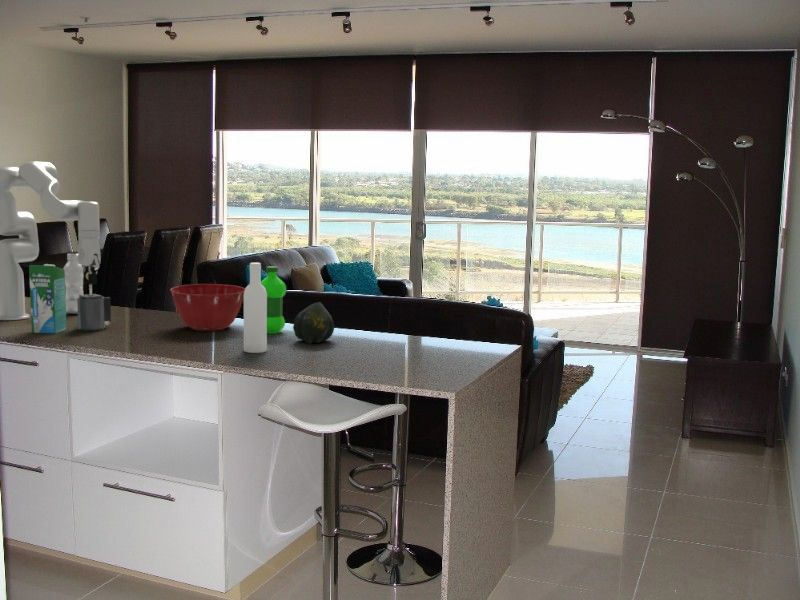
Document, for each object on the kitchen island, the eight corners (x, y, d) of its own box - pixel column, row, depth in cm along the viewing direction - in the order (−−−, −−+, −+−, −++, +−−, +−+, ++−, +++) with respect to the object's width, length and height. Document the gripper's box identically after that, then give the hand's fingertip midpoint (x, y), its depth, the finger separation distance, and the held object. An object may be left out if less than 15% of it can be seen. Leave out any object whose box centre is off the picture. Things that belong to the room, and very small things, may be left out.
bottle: (256, 354, 291) (256, 264, 287) (238, 351, 295) (238, 263, 291) (271, 350, 298) (272, 263, 294) (254, 347, 302) (254, 261, 298)
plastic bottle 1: (89, 314, 363) (87, 254, 360) (70, 316, 357) (68, 255, 353) (79, 311, 369) (78, 252, 365) (60, 313, 362) (58, 253, 359)
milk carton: (66, 329, 328) (64, 263, 324) (55, 333, 319) (52, 265, 315) (43, 328, 328) (41, 262, 325) (31, 332, 319) (28, 264, 316)
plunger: (80, 314, 329) (78, 271, 327) (95, 313, 333) (94, 270, 331) (87, 316, 325) (85, 272, 322) (102, 315, 329) (101, 271, 326)
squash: (286, 330, 306) (315, 298, 306) (285, 324, 320) (313, 294, 321) (316, 356, 308) (345, 325, 309) (314, 350, 323) (341, 320, 323)
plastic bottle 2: (253, 333, 328) (253, 267, 325) (266, 329, 338) (266, 264, 335) (278, 335, 325) (278, 268, 322) (289, 331, 335) (290, 266, 332)
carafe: (74, 328, 330) (73, 295, 328) (104, 325, 338) (103, 292, 336) (85, 332, 323) (84, 297, 321) (115, 328, 331) (115, 295, 330)
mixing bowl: (258, 330, 334) (258, 290, 332) (186, 337, 318) (186, 295, 316) (228, 319, 357) (228, 282, 355) (160, 325, 341) (159, 286, 339)
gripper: (69, 233, 328) (71, 282, 330) (89, 236, 316) (90, 286, 319) (89, 233, 333) (90, 280, 336) (108, 235, 321) (110, 285, 324)
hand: (90, 283), depth 327 cm, fingers closed on plunger, 3 cm apart
